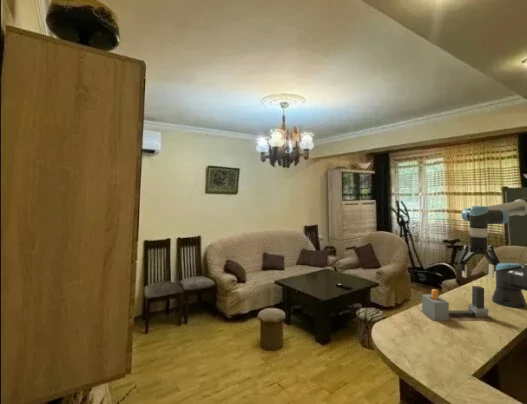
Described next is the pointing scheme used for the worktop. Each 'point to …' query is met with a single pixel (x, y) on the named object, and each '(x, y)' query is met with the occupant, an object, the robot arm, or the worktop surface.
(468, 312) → the rail
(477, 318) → the base board
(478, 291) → the carriage
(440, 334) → the worktop surface
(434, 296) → the button
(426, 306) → the end cabinet
